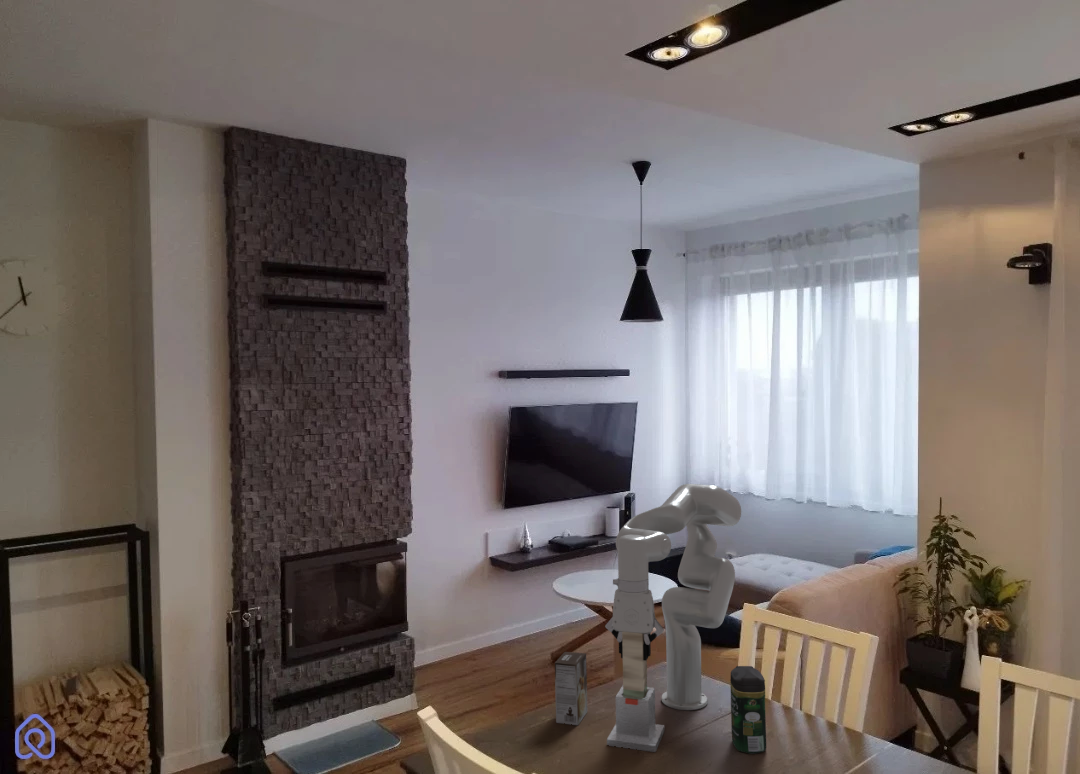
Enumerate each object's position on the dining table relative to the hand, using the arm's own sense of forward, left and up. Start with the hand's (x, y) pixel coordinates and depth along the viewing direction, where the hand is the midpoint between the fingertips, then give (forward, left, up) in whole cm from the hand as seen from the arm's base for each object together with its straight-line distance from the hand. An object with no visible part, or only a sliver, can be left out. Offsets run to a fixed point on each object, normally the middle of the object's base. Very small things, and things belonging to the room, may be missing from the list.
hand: (634, 656), depth 195 cm
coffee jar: (-4, +27, -21) cm, 34 cm away
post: (0, 0, -12) cm, 12 cm away
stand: (0, 0, -20) cm, 20 cm away
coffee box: (-7, -19, -21) cm, 29 cm away
